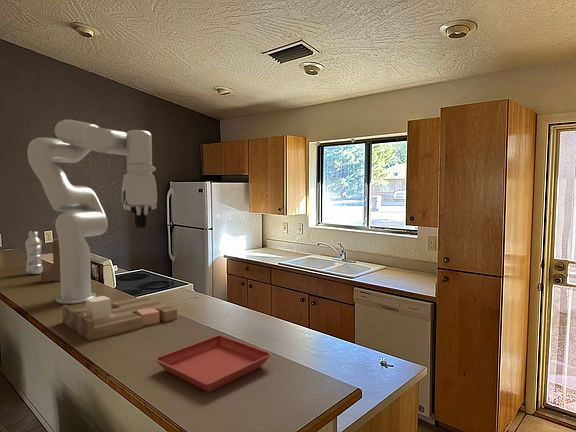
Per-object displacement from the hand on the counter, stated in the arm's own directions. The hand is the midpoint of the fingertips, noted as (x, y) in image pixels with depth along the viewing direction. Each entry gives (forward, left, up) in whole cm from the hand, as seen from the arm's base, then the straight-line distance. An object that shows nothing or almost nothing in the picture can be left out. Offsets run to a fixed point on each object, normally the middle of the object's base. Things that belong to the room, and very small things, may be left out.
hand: (140, 227), depth 127 cm
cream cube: (+6, -16, -24) cm, 29 cm away
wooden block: (-70, -6, -27) cm, 75 cm away
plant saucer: (+52, -9, -28) cm, 60 cm away
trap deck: (+5, -8, -27) cm, 29 cm away
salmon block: (+12, -4, -27) cm, 30 cm away
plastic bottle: (-92, -8, -27) cm, 96 cm away
